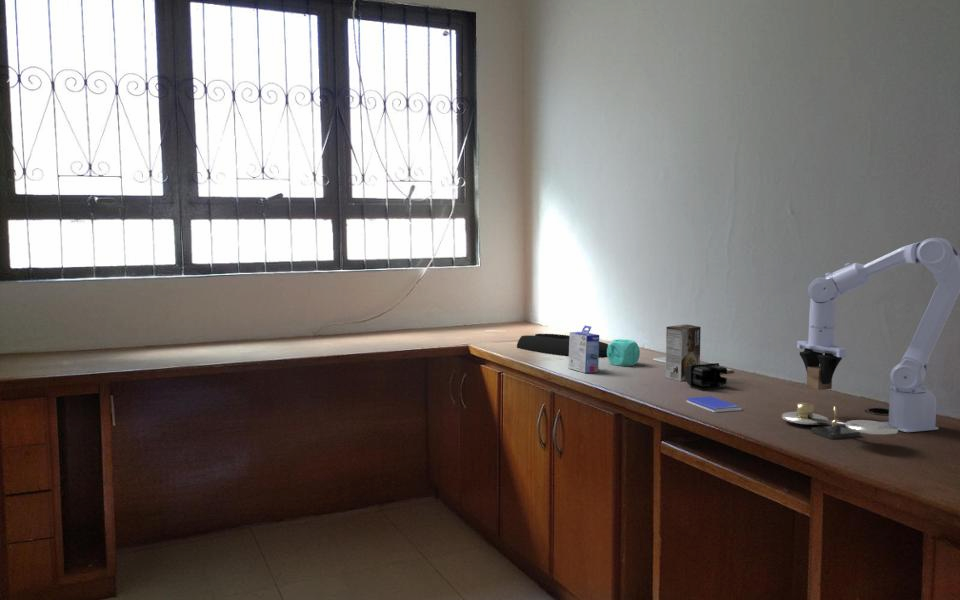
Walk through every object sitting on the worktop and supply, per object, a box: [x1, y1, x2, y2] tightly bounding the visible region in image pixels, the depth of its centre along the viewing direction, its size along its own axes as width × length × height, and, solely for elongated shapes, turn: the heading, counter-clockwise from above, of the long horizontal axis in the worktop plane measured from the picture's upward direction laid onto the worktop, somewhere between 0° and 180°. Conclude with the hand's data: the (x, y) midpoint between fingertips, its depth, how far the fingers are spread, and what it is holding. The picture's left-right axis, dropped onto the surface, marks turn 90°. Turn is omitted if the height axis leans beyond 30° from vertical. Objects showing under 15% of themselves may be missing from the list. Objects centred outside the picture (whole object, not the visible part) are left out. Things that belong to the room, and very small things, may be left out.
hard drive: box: [685, 396, 743, 413], centre depth 198 cm, size 2×8×12 cm
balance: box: [781, 402, 899, 440], centre depth 170 cm, size 10×30×6 cm, turn 17°
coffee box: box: [664, 324, 702, 382], centre depth 234 cm, size 9×6×16 cm
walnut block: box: [806, 365, 833, 391], centre depth 187 cm, size 4×4×5 cm
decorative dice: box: [607, 338, 641, 367], centre depth 258 cm, size 8×8×8 cm
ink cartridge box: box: [568, 325, 600, 374], centre depth 246 cm, size 10×6×14 cm, turn 28°
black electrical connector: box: [685, 362, 728, 392], centre depth 221 cm, size 10×7×7 cm
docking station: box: [516, 333, 609, 358], centre depth 289 cm, size 25×40×5 cm, turn 43°
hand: (819, 381), depth 187 cm, fingers closed on walnut block, 4 cm apart
